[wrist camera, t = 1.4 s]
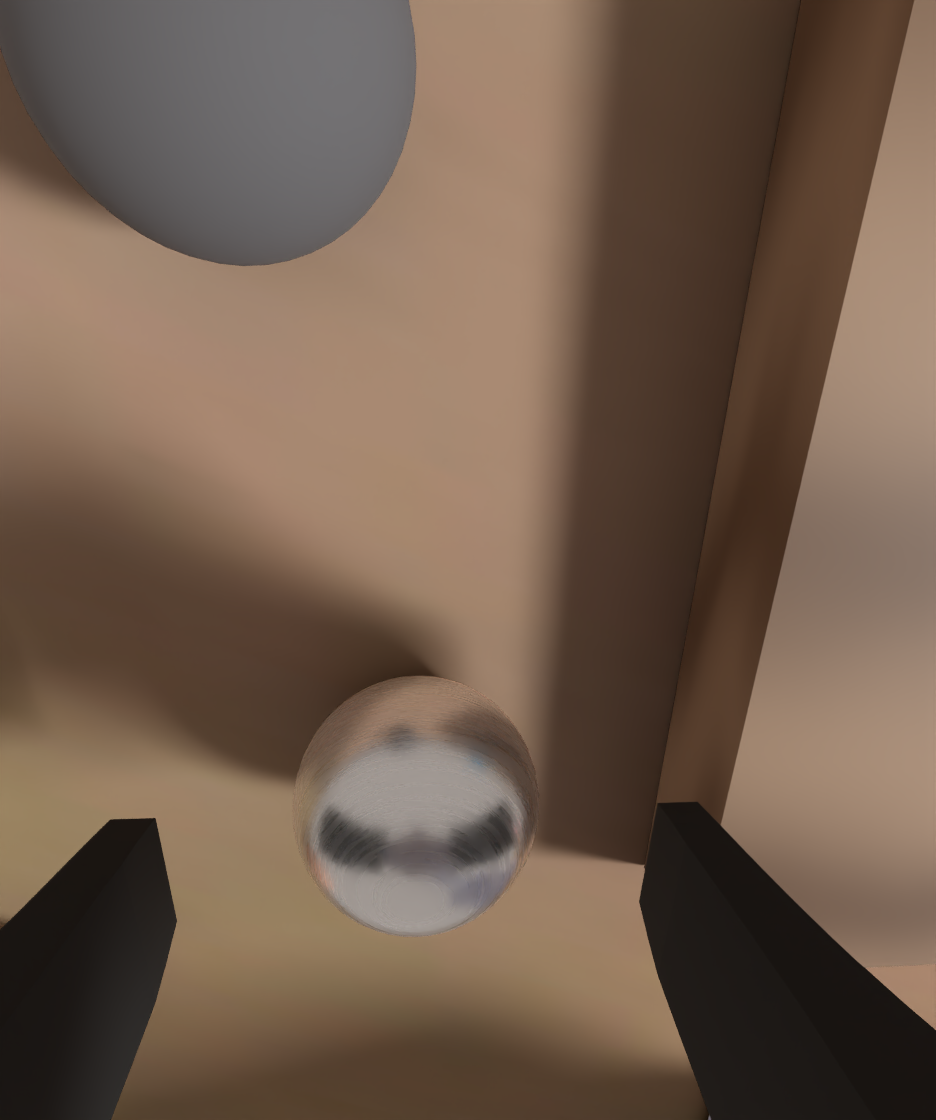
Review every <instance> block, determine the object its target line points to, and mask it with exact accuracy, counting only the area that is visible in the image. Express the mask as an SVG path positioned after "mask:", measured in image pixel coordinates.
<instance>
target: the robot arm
mask: <svg viewBox="0 0 936 1120" xmlns="http://www.w3.org/2000/svg"><path fill="white" fill-rule="evenodd" d="M639 903H640V907H641V911H642V915H643V919H644V923H645V927H646V931H647V936H648V940H649V944H650V947H651V951H652V955H653V959H654V962H655V966H656V970H657V974H658V977H659V980H660V983H661V985H662V988H663V991H664V994H665V997H666V999H667V1002H668V1005H669V1007H670V1010H671V1013H672V1016H673V1018H674V1021H675V1024H676V1027H677V1029H678V1032H679V1035H680V1037H681V1040H682V1043H683V1046H684V1048H685V1051H686V1054H687V1056H688V1059H689V1062H690V1064H691V1067H692V1070H693V1072H694V1075H695V1078H696V1080H697V1083H698V1086H699V1088H700V1091H701V1094H702V1096H703V1099H704V1102H705V1104H706V1107H707V1110H708V1113H709V1118H708V1120H936V1030H935V1029H934V1028H933V1027H931V1026H930V1025H929V1024H928V1023H927V1022H926V1021H924V1020H923V1019H922V1018H921V1017H920V1016H918V1015H917V1014H916V1013H915V1012H914V1011H913V1010H911V1009H910V1008H909V1007H908V1006H907V1005H906V1004H904V1003H903V1002H902V1001H901V1000H900V999H899V998H898V997H897V996H895V995H894V994H893V993H892V992H891V991H890V990H889V989H888V988H887V987H885V986H884V985H883V984H882V983H881V982H880V981H879V980H878V979H877V978H875V977H874V976H873V975H872V974H871V973H870V972H869V971H868V970H867V969H865V968H864V967H863V966H862V965H861V964H860V963H859V962H858V961H856V960H855V959H854V958H853V957H852V956H851V955H850V954H849V953H848V952H847V951H846V950H845V949H844V948H843V947H841V946H840V945H839V944H838V943H837V942H836V941H835V940H834V939H833V938H832V937H831V936H830V935H829V934H828V933H827V932H826V931H825V930H824V929H823V928H822V927H821V926H820V925H819V924H818V923H817V922H815V921H814V920H813V919H812V918H811V917H810V916H809V915H808V914H807V913H806V912H805V911H804V910H803V909H802V908H801V907H800V906H799V905H798V904H797V903H796V902H795V901H794V900H793V899H792V898H791V897H790V896H789V895H788V894H787V893H786V892H785V891H784V890H783V889H782V888H781V887H780V886H779V885H778V884H777V883H776V882H775V881H774V880H773V879H772V878H771V877H770V876H769V875H768V874H767V873H766V872H765V871H764V870H763V869H762V868H761V867H760V866H759V865H758V864H757V862H756V861H755V860H754V859H753V858H752V857H751V856H750V855H749V854H748V853H747V852H746V851H745V850H744V849H743V848H742V847H741V846H740V845H739V844H738V843H737V842H736V841H735V840H734V839H733V838H732V837H731V836H730V835H729V834H728V832H727V831H726V830H725V829H724V828H723V827H722V826H721V825H720V824H719V823H718V822H717V821H716V820H715V819H714V818H713V817H712V816H711V815H710V814H709V813H708V812H707V811H706V810H705V809H704V808H703V807H702V806H701V805H700V804H699V803H698V802H670V803H657V808H656V814H655V819H654V825H653V830H652V835H651V841H650V846H649V852H648V857H647V862H646V868H645V873H644V879H643V884H642V889H641V895H640V900H639ZM176 923H177V919H176V914H175V910H174V905H173V900H172V895H171V890H170V885H169V881H168V876H167V871H166V866H165V861H164V857H163V852H162V847H161V842H160V837H159V833H158V828H157V823H156V818H146V819H113V820H110V821H109V822H107V823H106V824H105V825H104V826H103V827H102V828H101V829H100V830H99V831H98V832H97V833H96V834H95V835H94V836H93V837H92V838H91V839H90V840H89V841H88V842H87V843H86V844H85V845H84V846H83V847H82V848H81V849H80V850H79V851H78V852H77V853H76V854H75V855H74V856H73V857H72V858H71V859H70V860H69V861H68V862H67V863H66V864H65V865H64V866H63V867H62V868H61V869H60V870H59V871H58V872H57V873H56V874H55V875H54V876H53V878H52V879H51V880H50V881H49V882H48V883H47V884H46V885H45V886H44V887H43V888H42V889H41V890H40V891H39V892H38V893H37V894H36V895H35V896H34V897H33V898H32V899H31V900H30V901H29V902H28V903H27V904H26V905H25V906H24V907H23V908H22V909H21V910H20V911H19V912H18V913H17V914H16V915H15V916H14V917H13V918H12V919H11V920H10V921H8V922H7V923H6V924H5V925H4V926H3V927H2V928H1V929H0V1120H111V1118H112V1115H113V1113H114V1110H115V1107H116V1105H117V1102H118V1100H119V1097H120V1094H121V1092H122V1089H123V1087H124V1084H125V1081H126V1079H127V1076H128V1074H129V1071H130V1068H131V1066H132V1063H133V1060H134V1058H135V1055H136V1053H137V1050H138V1047H139V1045H140V1042H141V1039H142V1037H143V1034H144V1031H145V1029H146V1026H147V1023H148V1021H149V1018H150V1015H151V1013H152V1010H153V1007H154V1004H155V1002H156V998H157V995H158V991H159V988H160V984H161V980H162V977H163V973H164V969H165V966H166V962H167V958H168V954H169V950H170V946H171V942H172V938H173V934H174V930H175V927H176Z"/></svg>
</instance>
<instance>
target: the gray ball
mask: <svg viewBox="0 0 936 1120" xmlns="http://www.w3.org/2000/svg"><path fill="white" fill-rule="evenodd" d="M0 47H1V51H2V54H3V57H4V60H5V62H6V65H7V68H8V71H9V73H10V76H11V79H12V81H13V84H14V86H15V88H16V90H17V92H18V94H19V96H20V98H21V100H22V102H23V104H24V106H25V108H26V110H27V112H28V114H29V116H30V117H31V119H32V121H33V122H34V124H35V125H36V127H37V129H38V130H39V132H40V133H41V135H42V137H43V138H44V140H45V141H46V143H47V144H48V146H49V147H50V149H51V150H52V151H53V153H54V154H55V155H56V157H57V158H58V159H59V160H60V162H61V163H62V164H63V166H64V167H65V168H66V170H67V171H68V172H69V173H70V174H71V175H72V177H73V178H74V179H75V180H76V181H77V182H78V183H79V184H80V185H81V186H82V187H83V188H84V189H85V190H86V191H87V192H88V193H89V194H90V195H91V196H92V197H93V198H94V199H95V200H97V201H98V202H99V203H100V204H101V205H102V206H104V207H105V208H106V209H107V210H108V211H109V212H111V213H112V214H113V215H114V216H116V217H117V218H118V219H120V220H121V221H123V222H124V223H126V224H127V225H128V226H130V227H131V228H133V229H134V230H136V231H137V232H139V233H140V234H142V235H144V236H145V237H147V238H149V239H151V240H153V241H155V242H157V243H159V244H161V245H163V246H165V247H167V248H169V249H172V250H175V251H177V252H180V253H183V254H185V255H188V256H191V257H195V258H199V259H203V260H207V261H211V262H215V263H220V264H229V265H239V266H253V265H269V264H274V263H280V262H285V261H289V260H292V259H295V258H298V257H301V256H304V255H307V254H310V253H312V252H314V251H316V250H318V249H320V248H322V247H324V246H326V245H328V244H330V243H331V242H333V241H334V240H336V239H337V238H338V237H340V236H341V235H343V234H344V233H345V232H347V231H348V230H349V229H350V228H351V227H353V226H354V225H355V224H356V223H357V222H358V221H359V220H360V219H361V218H362V217H363V216H364V215H365V214H366V213H367V211H368V210H369V209H370V208H371V206H372V205H373V204H374V202H375V201H376V200H377V199H378V197H379V196H380V194H381V193H382V191H383V189H384V188H385V186H386V184H387V182H388V181H389V179H390V177H391V176H392V174H393V171H394V169H395V167H396V164H397V162H398V159H399V157H400V155H401V152H402V149H403V146H404V142H405V139H406V135H407V132H408V129H409V125H410V121H411V115H412V108H413V102H414V96H415V80H416V52H415V35H414V29H413V23H412V17H411V11H410V5H409V0H0Z"/></svg>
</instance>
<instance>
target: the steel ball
mask: <svg viewBox="0 0 936 1120" xmlns="http://www.w3.org/2000/svg"><path fill="white" fill-rule="evenodd" d="M538 816H539V790H538V783H537V777H536V771H535V768H534V765H533V762H532V759H531V756H530V753H529V750H528V747H527V746H526V744H525V742H524V740H523V738H522V736H521V735H520V733H519V731H518V729H517V728H516V726H515V725H514V724H513V722H512V721H511V720H510V719H509V717H508V716H507V715H506V714H505V713H504V712H503V711H502V710H501V709H500V708H499V707H498V706H497V705H496V704H495V703H494V702H492V701H491V700H490V699H488V698H487V697H486V696H484V695H482V694H481V693H479V692H478V691H476V690H474V689H472V688H470V687H469V686H466V685H464V684H461V683H459V682H456V681H453V680H449V679H445V678H440V677H434V676H404V677H398V678H393V679H389V680H385V681H382V682H379V683H376V684H374V685H372V686H369V687H367V688H365V689H363V690H362V691H360V692H358V693H357V694H355V695H353V696H352V697H350V698H349V699H347V700H346V701H345V702H344V703H342V704H341V705H340V706H338V707H337V708H336V709H335V710H334V711H333V713H332V714H331V715H330V716H329V717H328V718H327V719H326V720H325V721H324V722H323V724H322V725H321V726H320V728H319V729H318V730H317V732H316V733H315V735H314V736H313V738H312V740H311V742H310V744H309V745H308V747H307V749H306V751H305V753H304V756H303V759H302V762H301V765H300V768H299V770H298V773H297V776H296V783H295V789H294V796H293V826H294V831H295V836H296V841H297V845H298V849H299V852H300V855H301V858H302V860H303V863H304V865H305V867H306V869H307V871H308V873H309V875H310V877H311V878H312V880H313V882H314V883H315V884H316V886H317V887H318V889H319V890H320V891H321V892H322V894H323V895H324V896H325V897H326V899H327V900H328V901H329V902H330V903H331V904H333V905H334V906H335V907H336V908H337V909H338V910H339V911H341V912H342V913H343V914H345V915H346V916H347V917H349V918H350V919H352V920H353V921H355V922H357V923H359V924H361V925H363V926H365V927H368V928H370V929H373V930H375V931H378V932H382V933H385V934H390V935H395V936H403V937H422V936H431V935H436V934H441V933H444V932H448V931H451V930H453V929H456V928H458V927H461V926H463V925H465V924H467V923H469V922H471V921H473V920H475V919H476V918H478V917H479V916H481V915H482V914H484V913H485V912H486V911H487V910H489V909H490V908H491V907H492V906H493V905H494V904H496V903H497V902H498V901H499V900H500V899H501V898H502V897H503V896H504V895H505V894H506V892H507V891H508V890H509V888H510V887H511V886H512V884H513V883H514V881H515V880H516V879H517V877H518V876H519V874H520V872H521V871H522V869H523V867H524V865H525V863H526V861H527V858H528V856H529V854H530V851H531V848H532V845H533V842H534V838H535V834H536V829H537V823H538Z"/></svg>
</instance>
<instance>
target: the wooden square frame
mask: <svg viewBox="0 0 936 1120" xmlns="http://www.w3.org/2000/svg"><path fill="white" fill-rule="evenodd" d="M670 802H698V803H699V804H700V805H701V806H702V807H703V808H704V809H705V810H706V811H707V812H708V813H709V814H710V815H711V816H712V817H713V818H714V819H715V820H716V821H717V822H718V823H719V824H720V825H721V826H722V827H723V828H724V829H725V830H726V831H727V832H728V834H729V835H730V836H731V837H732V838H733V839H734V840H735V841H736V842H737V843H738V844H739V845H740V846H741V847H742V848H743V849H744V850H745V851H746V852H747V853H748V854H749V855H750V856H751V857H752V858H753V859H754V860H755V861H756V862H757V864H758V865H759V866H760V867H761V868H762V869H763V870H764V871H765V872H766V873H767V874H768V875H769V876H770V877H771V878H772V879H773V880H774V881H775V882H776V883H777V884H778V885H779V886H780V887H781V888H782V889H783V890H784V891H785V892H786V893H787V894H788V895H789V896H790V897H791V898H792V899H793V900H794V901H795V902H796V903H797V904H798V905H799V906H800V907H801V908H802V909H803V910H804V911H805V912H806V913H807V914H808V915H809V916H810V917H811V918H812V919H813V920H814V921H815V922H817V923H818V924H819V925H820V926H821V927H822V928H823V929H824V930H825V931H826V932H827V933H828V934H829V935H830V936H831V937H832V938H833V939H834V940H835V941H836V942H837V943H838V944H839V945H840V946H841V947H843V948H844V949H845V950H846V951H847V952H848V953H849V954H850V955H851V956H852V957H853V958H854V959H855V960H856V961H858V962H859V963H860V964H861V965H862V966H863V967H864V968H871V967H892V966H913V965H934V964H936V0H801V4H800V9H799V15H798V20H797V26H796V31H795V37H794V42H793V48H792V53H791V59H790V64H789V70H788V75H787V81H786V86H785V92H784V98H783V103H782V109H781V114H780V120H779V125H778V131H777V136H776V142H775V147H774V153H773V158H772V164H771V169H770V175H769V180H768V186H767V192H766V197H765V203H764V208H763V214H762V219H761V225H760V230H759V236H758V241H757V247H756V252H755V258H754V263H753V269H752V274H751V280H750V286H749V291H748V297H747V302H746V308H745V313H744V319H743V324H742V330H741V335H740V341H739V346H738V352H737V357H736V363H735V368H734V374H733V380H732V385H731V391H730V396H729V402H728V407H727V413H726V418H725V424H724V429H723V435H722V440H721V446H720V451H719V457H718V462H717V468H716V474H715V479H714V485H713V490H712V496H711V501H710V507H709V512H708V518H707V523H706V529H705V534H704V540H703V545H702V551H701V556H700V562H699V568H698V573H697V579H696V584H695V590H694V595H693V601H692V606H691V612H690V617H689V623H688V628H687V634H686V639H685V645H684V650H683V656H682V662H681V667H680V673H679V678H678V684H677V689H676V695H675V700H674V706H673V711H672V717H671V722H670V728H669V733H668V739H667V744H666V750H665V756H664V761H663V767H662V772H661V778H660V783H659V789H658V794H657V800H656V805H655V811H654V816H653V822H652V827H651V833H650V838H649V844H648V850H647V855H646V861H645V866H644V868H646V862H647V857H648V852H649V846H650V841H651V835H652V830H653V825H654V819H655V814H656V808H657V803H670Z"/></svg>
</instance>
